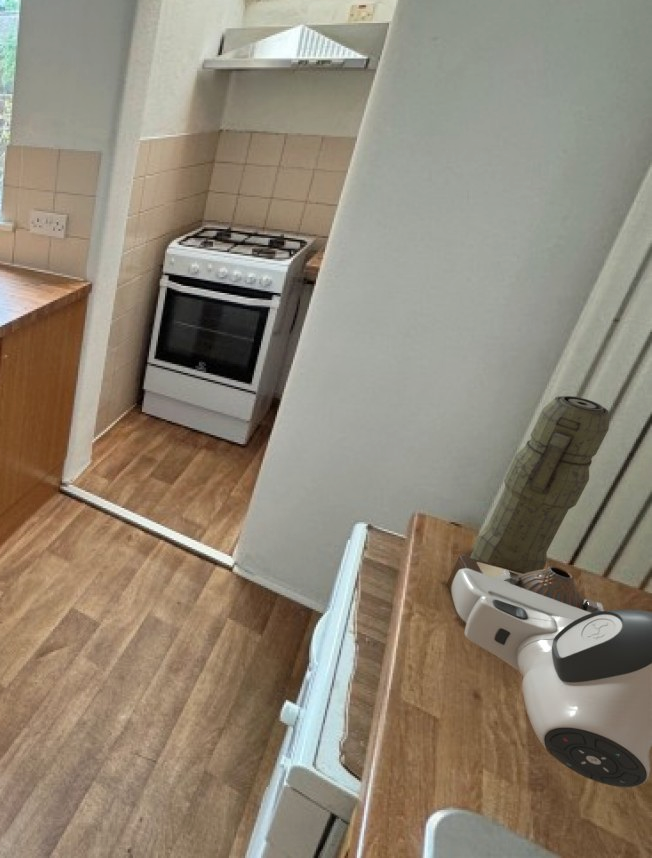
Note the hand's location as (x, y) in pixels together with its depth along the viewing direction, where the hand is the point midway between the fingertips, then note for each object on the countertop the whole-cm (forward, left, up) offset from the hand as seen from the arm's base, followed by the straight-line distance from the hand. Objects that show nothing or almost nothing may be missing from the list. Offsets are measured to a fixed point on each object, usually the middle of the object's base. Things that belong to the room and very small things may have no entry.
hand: (547, 589), depth 83 cm
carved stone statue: (-8, -28, -17) cm, 33 cm away
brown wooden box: (-4, -14, -17) cm, 22 cm away
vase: (0, +1, -5) cm, 5 cm away
